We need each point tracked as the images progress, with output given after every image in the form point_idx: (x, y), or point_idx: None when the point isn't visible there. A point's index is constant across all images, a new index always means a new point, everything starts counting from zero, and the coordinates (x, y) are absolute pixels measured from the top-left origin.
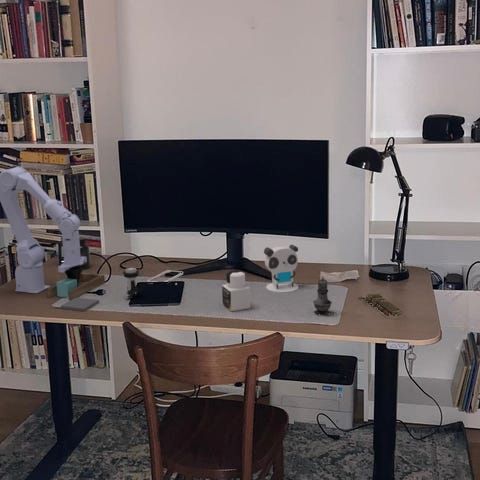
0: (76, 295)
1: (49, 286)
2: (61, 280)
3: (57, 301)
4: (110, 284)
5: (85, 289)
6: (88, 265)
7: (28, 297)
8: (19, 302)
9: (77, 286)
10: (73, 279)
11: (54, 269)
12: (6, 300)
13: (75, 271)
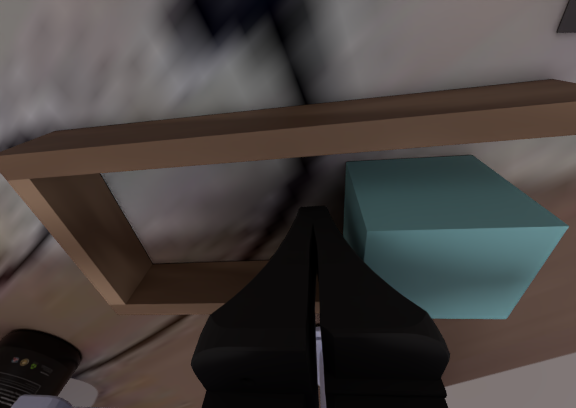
0: (482, 91)
1: (318, 330)
2: (434, 315)
3: (571, 172)
4: (33, 51)
5: (328, 109)
6: (11, 342)
7: (477, 326)
8: (564, 321)
9: (306, 207)
10: (380, 254)
11: (139, 388)
12: (524, 362)
13: (433, 324)
